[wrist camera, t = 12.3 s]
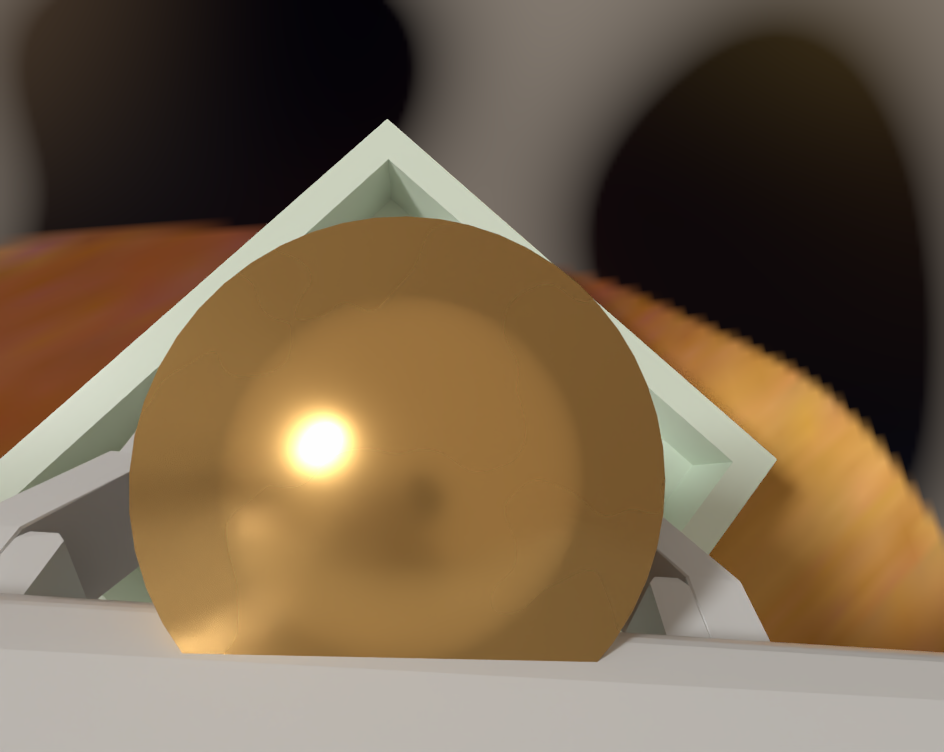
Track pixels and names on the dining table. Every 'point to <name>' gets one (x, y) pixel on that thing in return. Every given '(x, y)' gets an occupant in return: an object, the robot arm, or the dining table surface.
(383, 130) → the tray
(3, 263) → the dining table surface
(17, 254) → the dining table surface
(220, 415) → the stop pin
